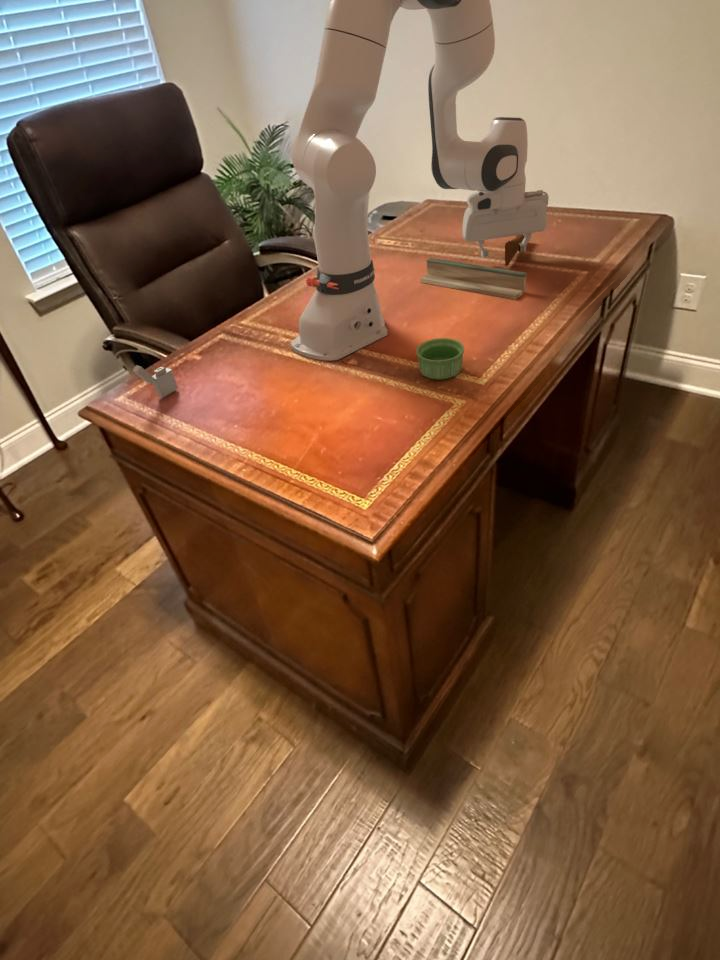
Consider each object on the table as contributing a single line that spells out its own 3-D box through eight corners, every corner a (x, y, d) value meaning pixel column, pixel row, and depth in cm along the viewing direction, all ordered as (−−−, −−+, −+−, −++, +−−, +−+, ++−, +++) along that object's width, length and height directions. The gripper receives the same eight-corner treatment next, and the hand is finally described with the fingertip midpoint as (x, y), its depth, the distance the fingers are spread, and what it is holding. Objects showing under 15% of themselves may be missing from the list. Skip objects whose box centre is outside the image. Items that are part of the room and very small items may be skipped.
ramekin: (461, 356, 116) (461, 335, 113) (466, 379, 109) (466, 358, 106) (416, 360, 116) (415, 340, 114) (418, 383, 109) (417, 362, 107)
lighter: (173, 386, 120) (160, 351, 115) (178, 388, 119) (165, 352, 114) (145, 403, 116) (130, 367, 111) (151, 405, 115) (136, 369, 110)
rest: (515, 299, 132) (516, 280, 129) (420, 282, 146) (419, 264, 143) (525, 292, 134) (526, 272, 131) (431, 275, 148) (430, 257, 145)
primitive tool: (504, 267, 145) (519, 266, 143) (504, 244, 141) (519, 243, 140) (516, 243, 158) (529, 242, 157) (516, 222, 155) (530, 221, 154)
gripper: (544, 185, 141) (540, 244, 149) (460, 197, 141) (461, 255, 150) (553, 192, 136) (548, 252, 144) (466, 205, 136) (466, 264, 145)
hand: (503, 254), depth 147 cm, fingers open, 8 cm apart
